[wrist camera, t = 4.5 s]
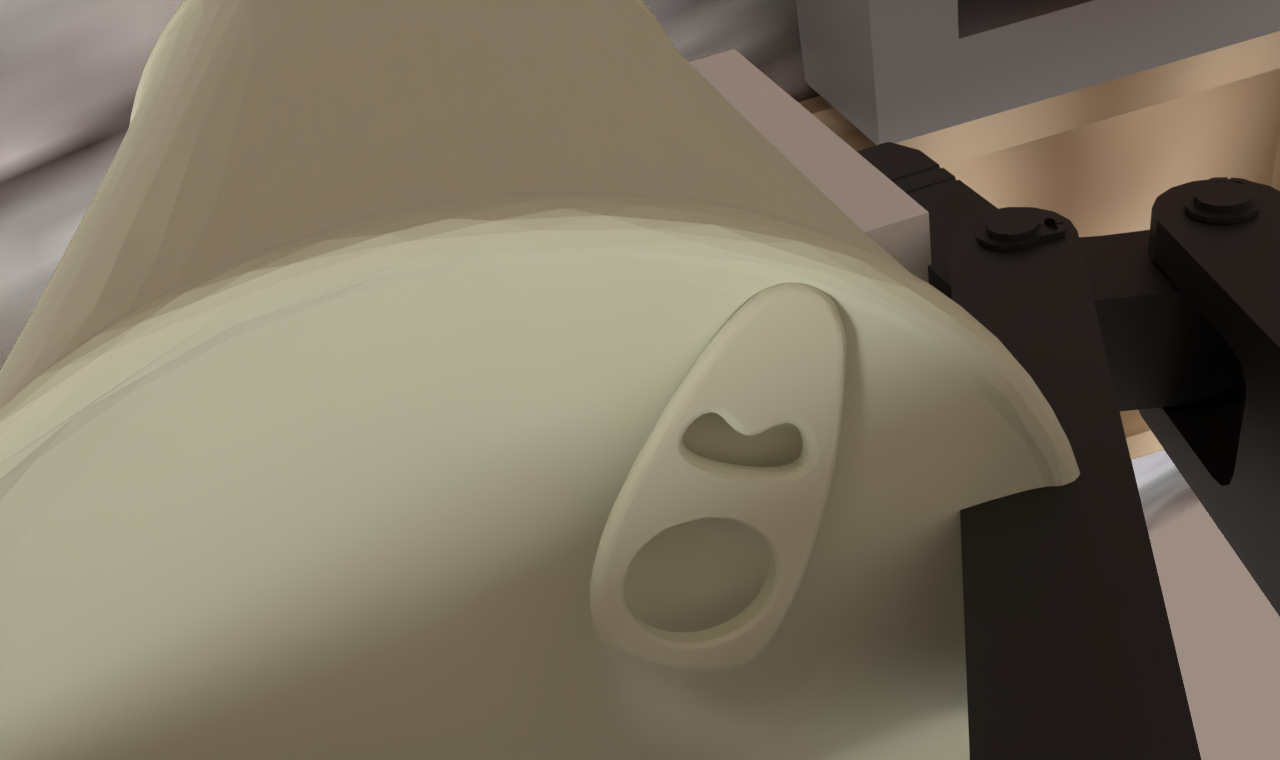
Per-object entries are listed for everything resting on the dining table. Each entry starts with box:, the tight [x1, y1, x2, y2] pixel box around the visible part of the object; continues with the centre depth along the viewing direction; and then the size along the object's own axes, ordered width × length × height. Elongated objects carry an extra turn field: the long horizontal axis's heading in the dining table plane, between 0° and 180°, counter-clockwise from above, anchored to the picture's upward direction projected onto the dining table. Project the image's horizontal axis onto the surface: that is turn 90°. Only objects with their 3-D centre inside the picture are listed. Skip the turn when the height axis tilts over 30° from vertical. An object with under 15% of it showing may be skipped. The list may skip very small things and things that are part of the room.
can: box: [0, 0, 1080, 760], centre depth 12 cm, size 9×9×12 cm
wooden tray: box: [798, 31, 1280, 460], centre depth 31 cm, size 18×13×4 cm
